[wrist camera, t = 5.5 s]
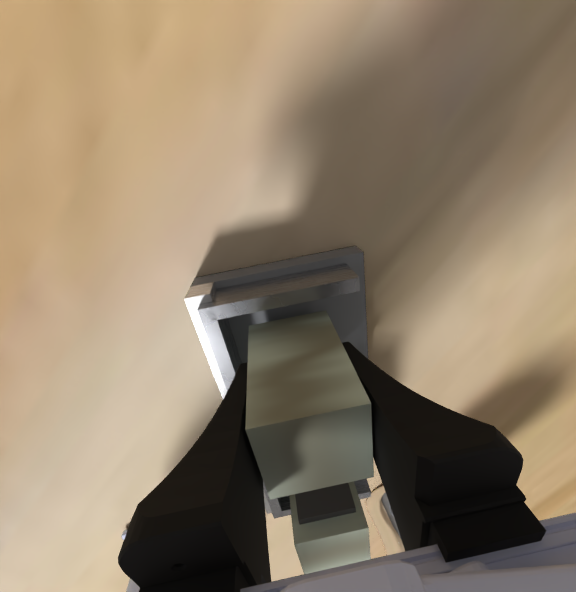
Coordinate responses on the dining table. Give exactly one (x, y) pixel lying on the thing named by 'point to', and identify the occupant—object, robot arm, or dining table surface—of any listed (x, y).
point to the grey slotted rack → (234, 351)
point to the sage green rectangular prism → (305, 407)
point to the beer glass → (384, 521)
